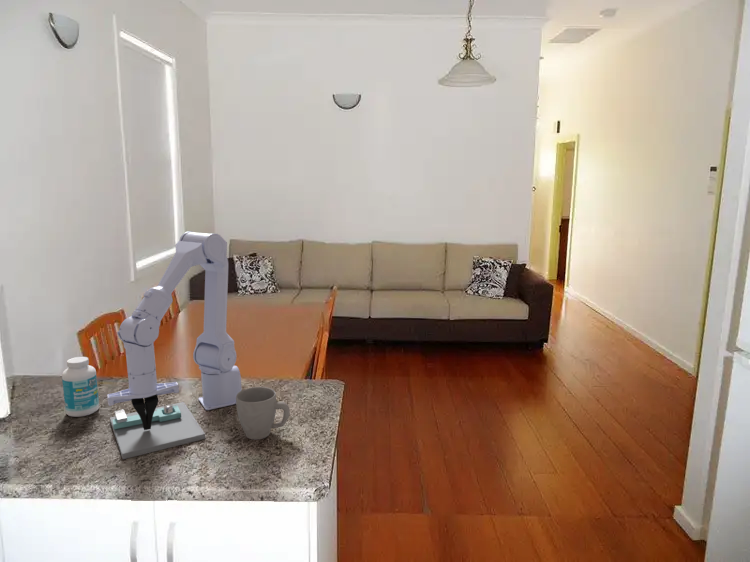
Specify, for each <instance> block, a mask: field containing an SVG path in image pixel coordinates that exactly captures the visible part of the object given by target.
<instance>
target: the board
mask: <svg viewBox="0 0 750 562" xmlns="http://www.w3.org/2000/svg"><path fill="white" fill-rule="evenodd" d="M170 405H173V406H176V405H177V406H178V408H179V410H180V412H181V418H176V419H172V420H167V421H162V422H160V421H159V420H158V421H153V422H151V429H148V430H144V428H143V424H138V425H133V426H129V427H124V428H119V429H114V427H113V419H115V416H110V417H109V420H110V425H111V428H112V431H113V434H114V437H115V440H116V443H117V447H118V450H119V453H120V456H121V458H122V460H126V459H129V458H134V457H138V456H141V455H142V456H143V455H145V454H149V453H154V452H158V451H161V450H165V449H166V450H167V449H170V448H174V447H178V446H182V445H185V444H190V443H193V442H198V441H201V440H205V439H206V433H205V431H204V430H203V428H202V427H201V425H200V424H199V423H198V421H197V419H196V418H195V416H194V415H193V413H192V412H191V410H190V409H189V407H187V405H186V403H185V402H184V401H181V402H177V403H171V404H170ZM164 406H165V405H162V406H157V407H156V409H160V408H164ZM156 409H155V411H156ZM145 411H146V409H145ZM125 414H126V416H127V417H128V416H134V415H139V414H138V413H137V411H134V412H129V413H125Z"/></svg>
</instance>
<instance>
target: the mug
mask: <svg viewBox="0 0 750 562" xmlns="http://www.w3.org/2000/svg"><path fill="white" fill-rule="evenodd" d="M235 405H236V412H237V413H236V414H237V418H238V420H239V423H240V426H241V428H242V430H243V431H244V434H245V436H246V438H248V439H250V440H262V439H266V438H267V437H268V436H270V433H271V430H272V429H278V428H282V427H284V426H285V425H286V423H287V421H288V420H289V418H290V415H291V411H290V406H289V405H288V404H287V402H285V401H278V400H277V393H276V391H275V389H272V388H270V387H266V386H254V387H253V386H252V387H249V388H248V387H247V388H245V389H242V391H240V392H239V393H238V394H237V396H236V404H235ZM277 410H283V415H282V419H281V421H279V422H277V423H275V420H276V419H275V418H276V411H277Z"/></svg>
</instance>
